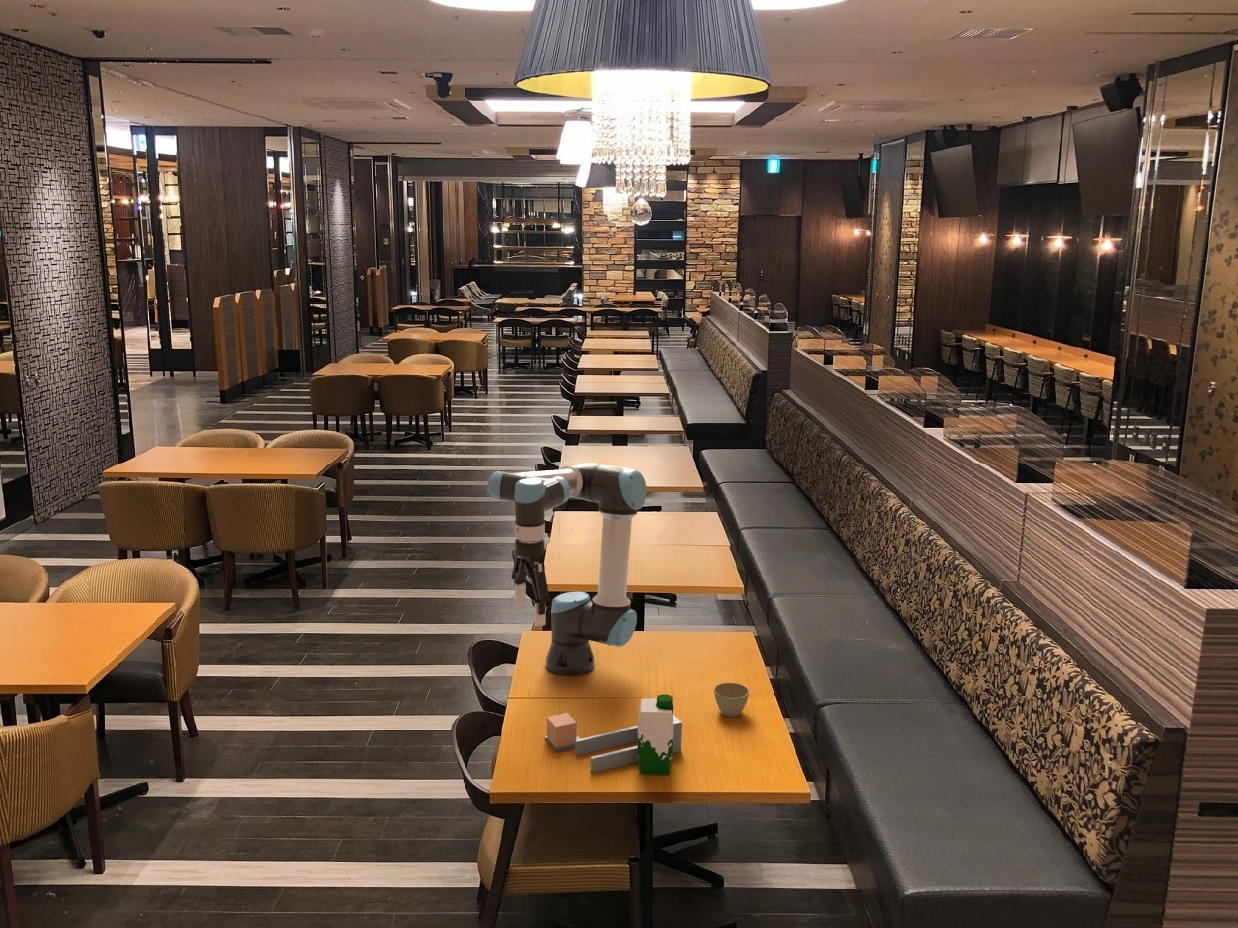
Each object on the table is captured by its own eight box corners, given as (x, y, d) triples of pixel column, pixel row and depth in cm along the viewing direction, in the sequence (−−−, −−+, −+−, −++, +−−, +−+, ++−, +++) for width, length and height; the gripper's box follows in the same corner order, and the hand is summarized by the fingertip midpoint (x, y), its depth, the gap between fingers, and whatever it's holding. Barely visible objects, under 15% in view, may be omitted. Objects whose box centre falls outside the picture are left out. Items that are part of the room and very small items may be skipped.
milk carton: (672, 778, 264) (674, 706, 259) (636, 777, 264) (637, 704, 259) (672, 760, 272) (674, 690, 267) (637, 759, 272) (638, 689, 268)
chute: (575, 753, 274) (575, 724, 272) (661, 733, 285) (662, 705, 283) (592, 772, 265) (592, 743, 263) (681, 750, 276) (681, 722, 274)
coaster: (544, 738, 281) (544, 735, 281) (572, 732, 285) (572, 729, 285) (556, 752, 274) (556, 749, 274) (584, 745, 278) (584, 742, 278)
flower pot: (752, 709, 300) (753, 686, 298) (741, 724, 291) (743, 700, 289) (719, 701, 304) (720, 679, 302) (708, 716, 295) (709, 693, 293)
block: (546, 737, 280) (546, 717, 279) (567, 732, 283) (567, 712, 281) (555, 747, 275) (555, 727, 274) (576, 742, 278) (576, 722, 276)
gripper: (499, 527, 278) (499, 601, 283) (534, 555, 257) (535, 635, 262) (525, 523, 281) (525, 597, 287) (562, 551, 260) (562, 630, 265)
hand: (530, 615), depth 274 cm, fingers open, 13 cm apart
